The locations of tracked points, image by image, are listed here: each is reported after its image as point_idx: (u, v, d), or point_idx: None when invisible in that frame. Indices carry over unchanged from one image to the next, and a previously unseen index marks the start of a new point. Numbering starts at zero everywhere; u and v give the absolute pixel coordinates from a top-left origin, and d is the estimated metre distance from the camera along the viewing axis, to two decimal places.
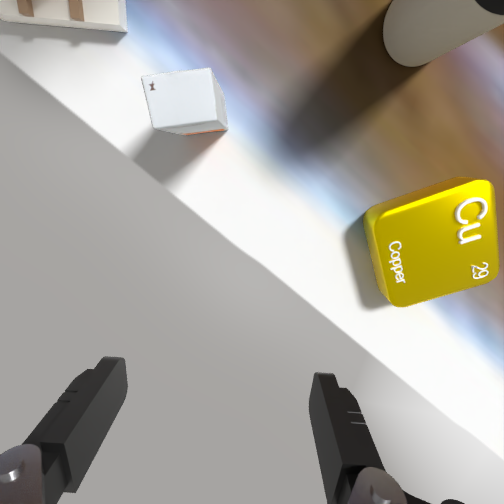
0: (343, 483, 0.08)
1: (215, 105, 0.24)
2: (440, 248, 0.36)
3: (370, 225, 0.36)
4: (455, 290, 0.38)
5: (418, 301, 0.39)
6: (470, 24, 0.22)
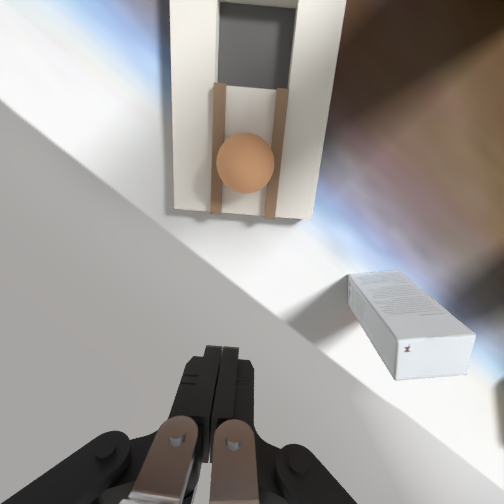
0: None
1: None
2: None
3: None
4: None
5: None
6: None
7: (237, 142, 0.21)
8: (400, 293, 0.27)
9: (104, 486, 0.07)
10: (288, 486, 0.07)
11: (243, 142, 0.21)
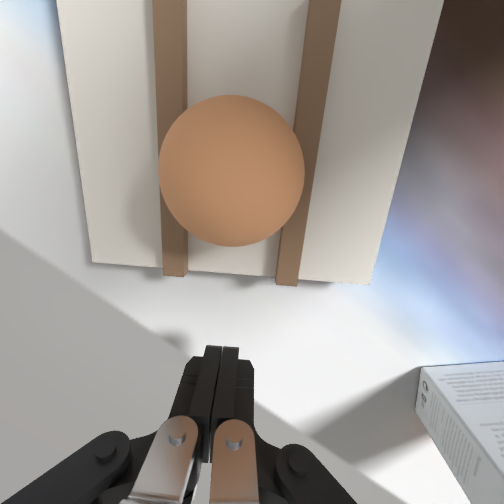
0: None
1: None
2: None
3: None
4: None
5: None
6: None
7: (205, 118, 0.07)
8: None
9: (104, 486, 0.07)
10: (288, 486, 0.07)
11: (222, 118, 0.07)
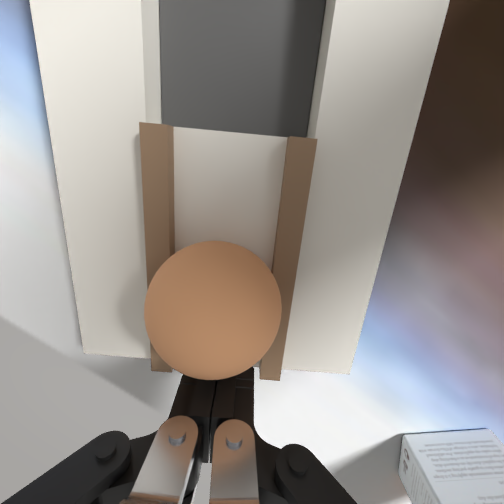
0: None
1: None
2: None
3: None
4: None
5: None
6: None
7: (186, 288, 0.08)
8: None
9: (104, 486, 0.07)
10: (288, 486, 0.07)
11: (201, 289, 0.08)
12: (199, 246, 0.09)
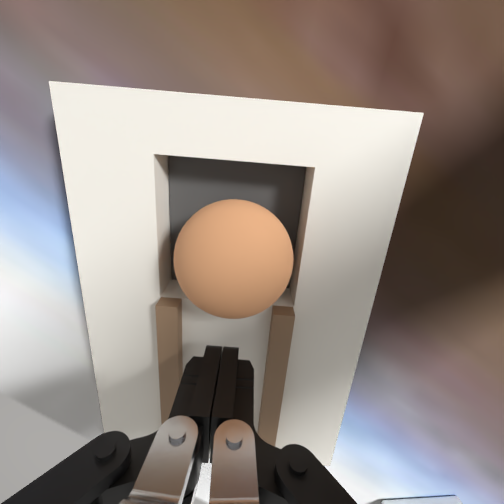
0: None
1: None
2: None
3: None
4: None
5: None
6: None
7: None
8: None
9: (104, 486, 0.07)
10: (288, 486, 0.07)
11: None
12: (222, 317, 0.11)
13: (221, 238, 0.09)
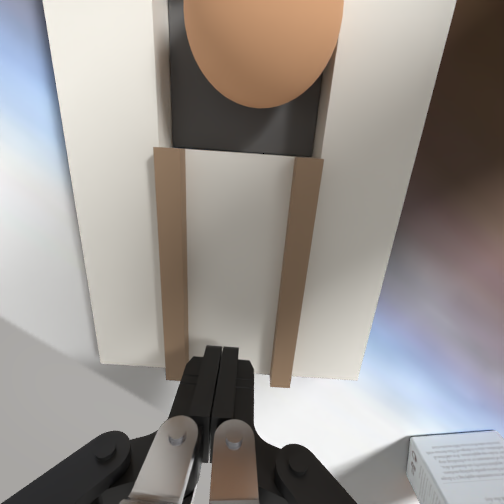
0: None
1: None
2: None
3: None
4: None
5: None
6: None
7: (233, 83, 0.08)
8: None
9: (104, 486, 0.07)
10: (288, 486, 0.07)
11: (246, 92, 0.09)
12: (260, 25, 0.07)
13: None
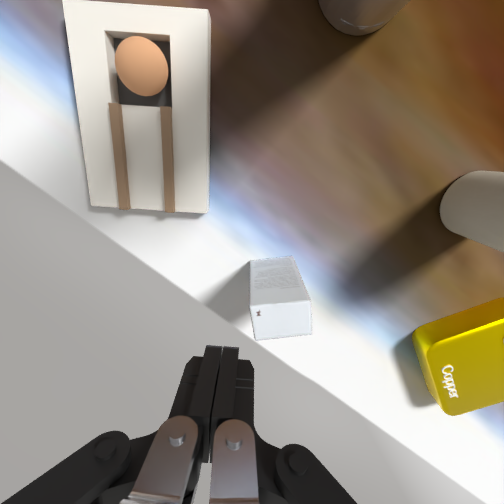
0: None
1: (311, 323, 0.27)
2: (490, 368, 0.38)
3: (421, 350, 0.39)
4: None
5: (471, 410, 0.41)
6: None
7: (134, 91, 0.28)
8: (278, 273, 0.32)
9: (104, 486, 0.07)
10: (288, 486, 0.07)
11: (139, 93, 0.28)
12: (135, 80, 0.26)
13: (132, 37, 0.25)
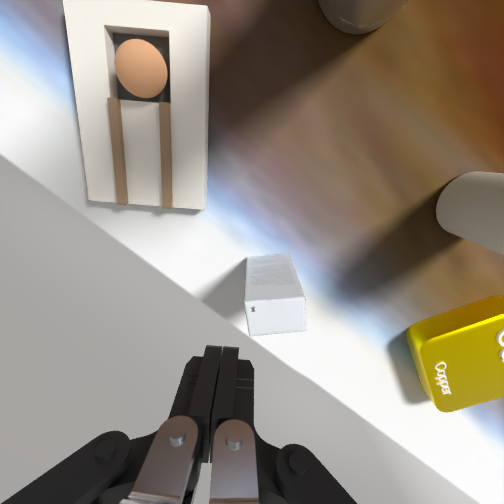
0: None
1: (305, 320, 0.27)
2: (483, 365, 0.39)
3: (415, 346, 0.39)
4: (499, 397, 0.41)
5: (464, 407, 0.41)
6: None
7: (135, 95, 0.29)
8: (274, 270, 0.32)
9: (104, 486, 0.07)
10: (288, 486, 0.07)
11: None
12: (136, 88, 0.27)
13: (130, 43, 0.25)
